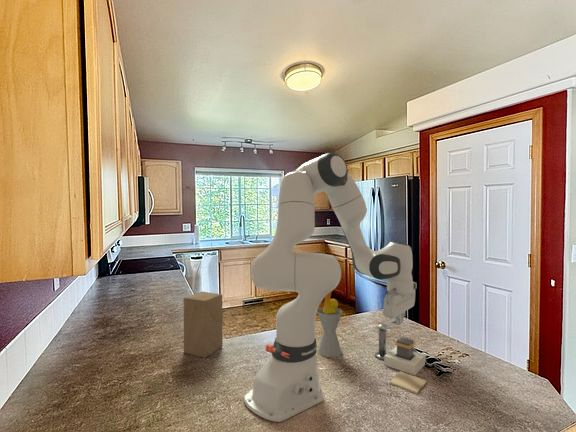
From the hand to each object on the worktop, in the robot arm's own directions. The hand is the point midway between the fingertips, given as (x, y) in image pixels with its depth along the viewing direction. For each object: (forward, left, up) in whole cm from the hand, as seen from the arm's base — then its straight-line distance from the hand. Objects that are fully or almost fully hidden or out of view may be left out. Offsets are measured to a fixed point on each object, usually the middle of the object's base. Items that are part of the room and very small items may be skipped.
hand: (399, 324), depth 113 cm
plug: (-9, -5, -10) cm, 14 cm away
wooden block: (-48, +54, -10) cm, 72 cm away
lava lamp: (-18, +18, -10) cm, 28 cm away
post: (-9, +2, -10) cm, 13 cm away
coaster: (-19, -10, -10) cm, 24 cm away
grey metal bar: (-3, +2, 0) cm, 4 cm away
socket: (-9, -5, -10) cm, 14 cm away
